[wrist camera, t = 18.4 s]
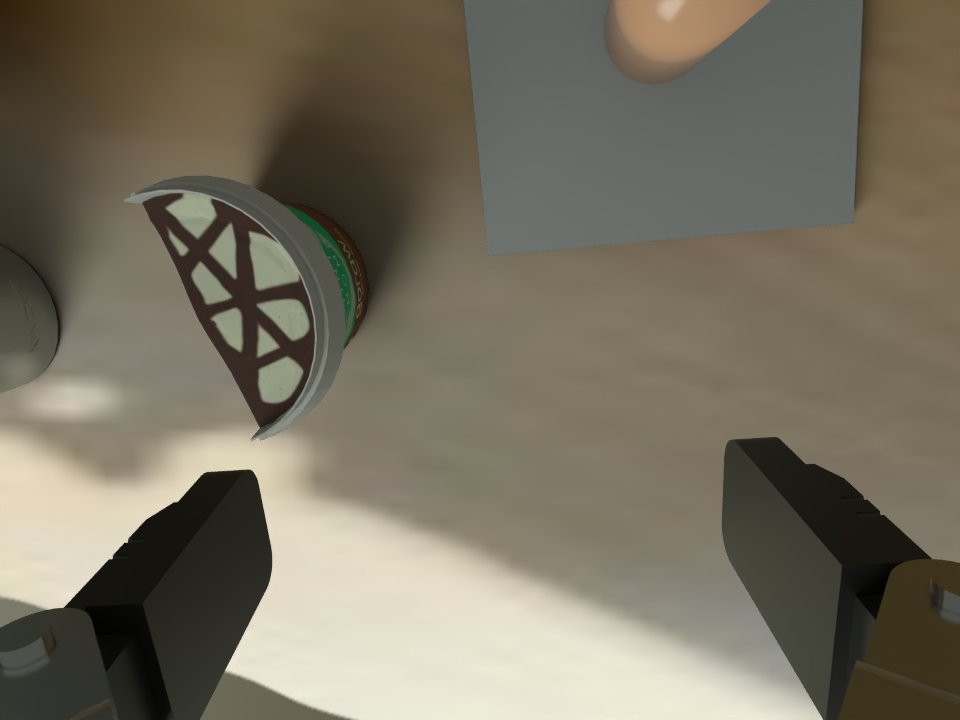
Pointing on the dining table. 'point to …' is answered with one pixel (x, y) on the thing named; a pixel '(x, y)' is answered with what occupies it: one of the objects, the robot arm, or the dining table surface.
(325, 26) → the dining table surface
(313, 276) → the food container
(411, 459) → the dining table surface
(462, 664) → the dining table surface
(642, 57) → the peach cylinder
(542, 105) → the charcoal board
